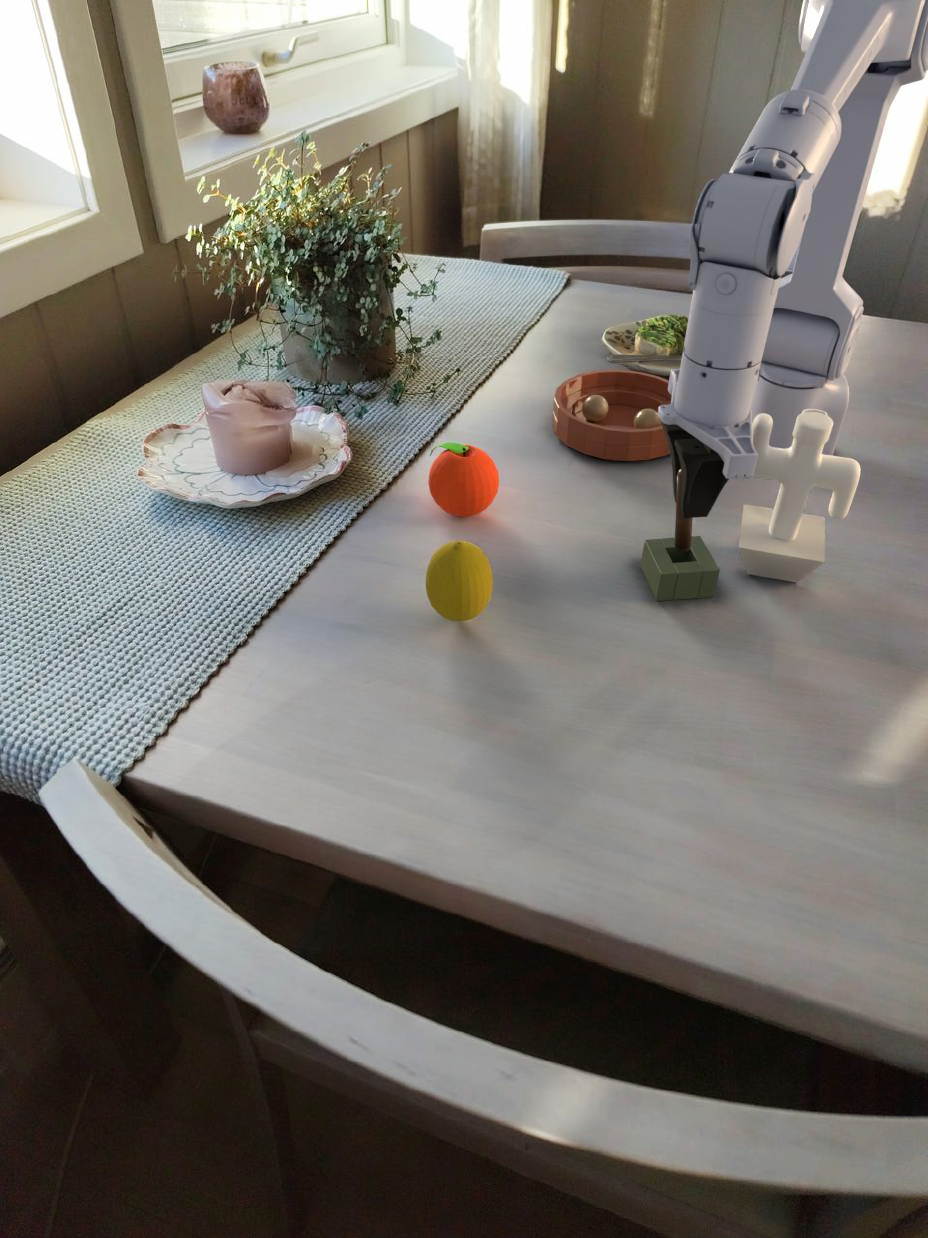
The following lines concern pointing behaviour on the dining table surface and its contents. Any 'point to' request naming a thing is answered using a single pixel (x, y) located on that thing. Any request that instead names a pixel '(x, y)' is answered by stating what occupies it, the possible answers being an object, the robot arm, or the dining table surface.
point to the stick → (682, 522)
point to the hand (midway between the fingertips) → (690, 508)
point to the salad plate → (648, 344)
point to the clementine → (463, 479)
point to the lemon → (459, 581)
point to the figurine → (794, 499)
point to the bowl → (612, 414)
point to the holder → (679, 569)
